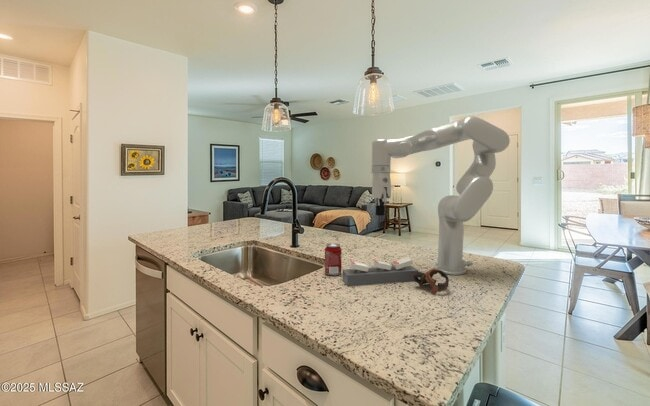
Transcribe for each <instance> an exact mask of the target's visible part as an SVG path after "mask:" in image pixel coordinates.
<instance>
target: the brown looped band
mask: <svg viewBox="0 0 650 406" xmlns="http://www.w3.org/2000/svg"><path fill="white" fill-rule="evenodd" d="M437 274H439V275H440V277H442V278H444V279H445V281H444V282H437V279H434V278H433V276H434V275H437ZM417 276H418V277H417ZM413 278H414V280H415V281H414V282H415V283H417V284H418V285H419V287H422V286H424V285H426V284H429V285H430V286H431V287H432V288H431V290H430V293H431V294H433V295H436V294H438V293H440V292H441V293H442V292H443V291H445V290H447V289H448V288H449V282H450V279H449V276H448V274H445V273H444V272H443V271H441V270H438V269H434V268H431V269H429V270H427V271H425V272H423V271H422V272H421V271H419V270H418V271H417V272H415V273H414V274H413ZM436 283H437V284H436Z"/></svg>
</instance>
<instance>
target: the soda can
mask: <svg viewBox="0 0 650 406" xmlns="http://www.w3.org/2000/svg"><path fill="white" fill-rule="evenodd" d="M324 272H325V274H327V275H329V276H333V277H334V276H339V275H340V274H341V273H342V248H341V245H340V243H336V242H335V243H333V242H332V243H327V244H326V247H325V248H324Z"/></svg>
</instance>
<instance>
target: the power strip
mask: <svg viewBox="0 0 650 406" xmlns="http://www.w3.org/2000/svg"><path fill="white" fill-rule="evenodd" d="M417 271H418V272H419V269H417V268H416V267H415V266H412V265H409V266H406V267H403V268H400V269H398V270H396V269H395V268H393V267H392V265H391V270H387V269H382V268H377V267H373V266H372V267H369V269H368V272H366V271H361V270H356V269H351V268H344V269H342V281H343V282H344V283H345V285H346V287H354V286H365V285H368V286H369V285H379V284H380V285H381V284H392V283H406V282H416V281H415V280H414V278H413V274H414V273H415V272H417ZM417 277H418V276H417ZM418 278H419V277H418Z"/></svg>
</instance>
